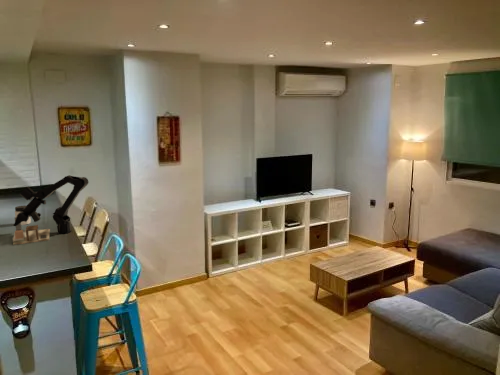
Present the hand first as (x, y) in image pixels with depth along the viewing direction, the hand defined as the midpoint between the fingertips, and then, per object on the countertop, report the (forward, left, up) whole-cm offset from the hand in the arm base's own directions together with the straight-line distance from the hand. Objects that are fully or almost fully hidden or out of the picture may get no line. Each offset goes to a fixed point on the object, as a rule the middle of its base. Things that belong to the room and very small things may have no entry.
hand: (15, 224), depth 256 cm
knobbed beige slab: (-6, +5, -6) cm, 10 cm away
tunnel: (-16, +9, -6) cm, 20 cm away
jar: (+15, -29, -7) cm, 34 cm away
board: (-12, +3, -7) cm, 14 cm away
